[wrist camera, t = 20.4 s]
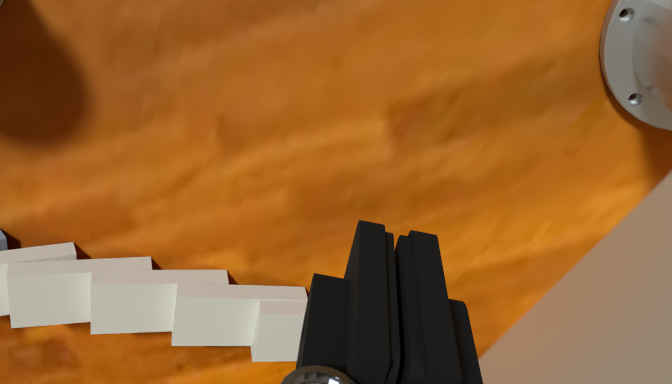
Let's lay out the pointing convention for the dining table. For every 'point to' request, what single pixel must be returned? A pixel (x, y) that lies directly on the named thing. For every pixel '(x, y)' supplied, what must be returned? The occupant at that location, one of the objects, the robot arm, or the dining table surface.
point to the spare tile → (3, 242)
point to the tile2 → (222, 312)
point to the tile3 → (140, 298)
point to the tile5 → (30, 255)
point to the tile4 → (58, 289)
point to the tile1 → (277, 330)
